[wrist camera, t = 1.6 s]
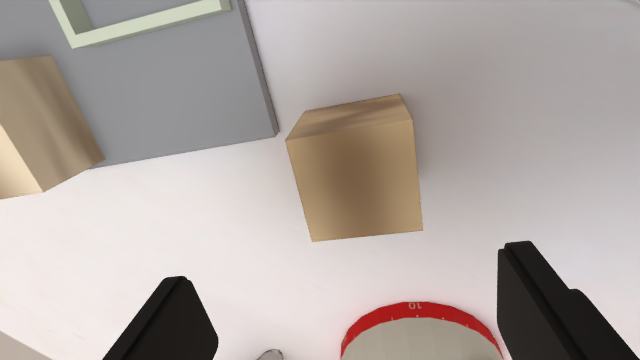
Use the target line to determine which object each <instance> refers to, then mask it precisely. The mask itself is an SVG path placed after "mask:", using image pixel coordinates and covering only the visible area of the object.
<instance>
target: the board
mask: <svg viewBox="0 0 640 360" xmlns="http://www.w3.org/2000/svg"><path fill="white" fill-rule="evenodd" d="M80 1H81V3H82V5H83V8H84V10H85V12H86V14H87V16H88V19H89V21H90V23H91V25H92V27H93V30H96V29H99V28H103V27H107V26H110V25H114V24H118V23H121V22H125V21H129V20H132V19H136V18H140V17H143V16H147V15H151V14H154V13H158V12H162V11H165V10H169V9H173V8H176V7H180V6H184V5H187V4H191V3H195V2H198V1H202V0H80ZM229 1H230V4H231V7H232V11H228V12H224V13H221V14H217V15H213V16H209V17H205V18H201V19H198V20H194V21H190V22H186V23H182V24H178V25H175V26H171V27H167V28H163V29H159V30H155V31H152V32H148V33H144V34H140V35H136V36H132V37H129V38H125V39H121V40H117V41H113V42H109V43H106V44H102V45H98V46H94V47H87V48H76V49H72V48H71V45H70V43H69V41H68V39H67V37H66V35H65V33H64V31H63V29H62V27H61V25H60V23H59V21H58V19H57V17H56V15H55V13H54V11H53V9H52V7H51V5H50V2H49V0H0V61H5V60H15V59H24V58H34V57H43V56H53V58H54V60H55V62H56V64H57V66H58V68H59V70H60V72H61V74H62V76H63V78H64V80H65V81H66V83H67V85H68V87H69V89H70V91H71V93H72V95H73V97H74V99H75V101H76V103H77V105H78V107H79V109H80V111H81V112H82V114H83V116H84V118H85V120H86V122H87V124H88V126H89V128H90V130H91V132H92V134H93V136H94V138H95V140H96V142H97V143H98V145H99V147H100V149H101V151H102V153H103V155H104V157H105V160H103V161H102V162H100V163H98V164H96V165H94V166H92V167H90V168H88V169H93V168H99V167H105V166H111V165H116V164H122V163H128V162H134V161H139V160H145V159H151V158H157V157H163V156H168V155H174V154H180V153H186V152H191V151H197V150H203V149H209V148H214V147H220V146H226V145H232V144H238V143H243V142H249V141H255V140H261V139H266V138H272V137H275V136H276V135H277V134H278V132H279V129H278V125H277V121H276V118H275V114H274V110H273V106H272V103H271V99H270V95H269V92H268V88H267V84H266V81H265V77H264V73H263V70H262V66H261V62H260V59H259V55H258V51H257V48H256V44H255V40H254V36H253V33H252V29H251V25H250V22H249V18H248V14H247V11H246V7H245V3H244V0H229ZM88 169H87V170H88Z"/></svg>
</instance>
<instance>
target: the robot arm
mask: <svg viewBox="0 0 640 360" xmlns="http://www.w3.org/2000/svg"><path fill="white" fill-rule="evenodd" d="M497 324H498V328H499V331H500V333H501V336H502V338H503V340H504V342H505V344H506V347H507V349H508V351H509V353H510V355H511V357H512V360H640V359H639V358H638V357H637V356H636V355H635V354H634V352H633V351H632V350H631V349H630V348H629V346H628V345H627V344H626V343H625V342H624V340H623V339H622V338H621V337H620V336H619V334H618V333H617V332H616V331H615V330H614V328H613V327H612V326H611V325H610V324H609V323H608V321H607V320H606V319H605V318H604V317H603V315H602V314H601V313H600V312H599V311H598V309H597V308H596V307H595V306H594V305H593V303H592V302H591V301H590V300H589V299H588V298H587V296H586V295H585V294H584V293H583V292H581V291H580V290H578V289H569V288H568V287H567V286H566V285H565V283H564V282H563V281H562V280H561V278H560V277H559V276H558V275H557V273H556V272H555V271H554V270H553V268H552V267H551V266H550V265H549V263H548V262H547V261H546V260H545V258H544V257H543V256H542V255H541V253H540V252H539V251H538V250H537V248H536V247H535V246H534V245H533V243H532V242H531V241H521V242H511V243H506V244H505V246H504V249H499V250H498V278H497ZM217 348H218V336H217V334H216V332H215V330H214V328H213V326H212V323H211V321H210V319H209V317H208V315H207V313H206V311H205V309H204V307H203V305H202V303H201V301H200V298H199V296H198V294H197V292H196V290H195V288H194V286H193V284H192V282H191V281H190V280H187V278H186V277H184V276H176V277H167V278H165V279H164V280H162V282H161V283H160V284H159V286H158V287H157V288H156V290H155V291H154V292H153V293H152V295H151V296H150V297H149V299H148V300H147V301H146V303H145V304H144V305H143V307H142V308H141V309H140V311H139V312H138V313H137V315H136V316H135V317H134V318H133V320H132V321H131V322H130V324H129V325H128V326H127V328H126V329H125V330H124V332H123V333H122V334H121V336H120V337H119V338H118V340H117V341H116V342H115V343H114V345H113V346H112V347H111V349H110V350H109V351H108V353H107V354H106V355H105V357H104V358H103V359H102V360H213V358H214V355H215V353H216V351H217Z"/></svg>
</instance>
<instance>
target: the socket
mask: <svg viewBox="0 0 640 360" xmlns="http://www.w3.org/2000/svg"><path fill="white" fill-rule="evenodd" d="M49 2H50V5H51V7H52V9H53V11H54V13H55V15H56V17H57V19H58V21H59V23H60V25H61V27H62V29H63V31H64V33H65V35H66V37H67V39H68V41H69V43H70V45H71V48H72V49H76V48H87V47H94V46H98V45H102V44H106V43H109V42H113V41H117V40H121V39H125V38H129V37H132V36H136V35H140V34H144V33H148V32H152V31H155V30H159V29H163V28H167V27H171V26H175V25H178V24H182V23H186V22H190V21H194V20H198V19H201V18H205V17H209V16H213V15H217V14H221V13H224V12H228V11H232V7H231V4H230V1H229V0H202V1H198V2H195V3H191V4H187V5H184V6H180V7H176V8H173V9H169V10H165V11H162V12H158V13H154V14H151V15H147V16H143V17H140V18H136V19H132V20H129V21H125V22H121V23H118V24H114V25H110V26H107V27H103V28H99V29H96V30H93V27H92V25H91V23H90V21H89V19H88V16H87V14H86V12H85V10H84V8H83V5H82V3H81V1H80V0H49Z"/></svg>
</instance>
